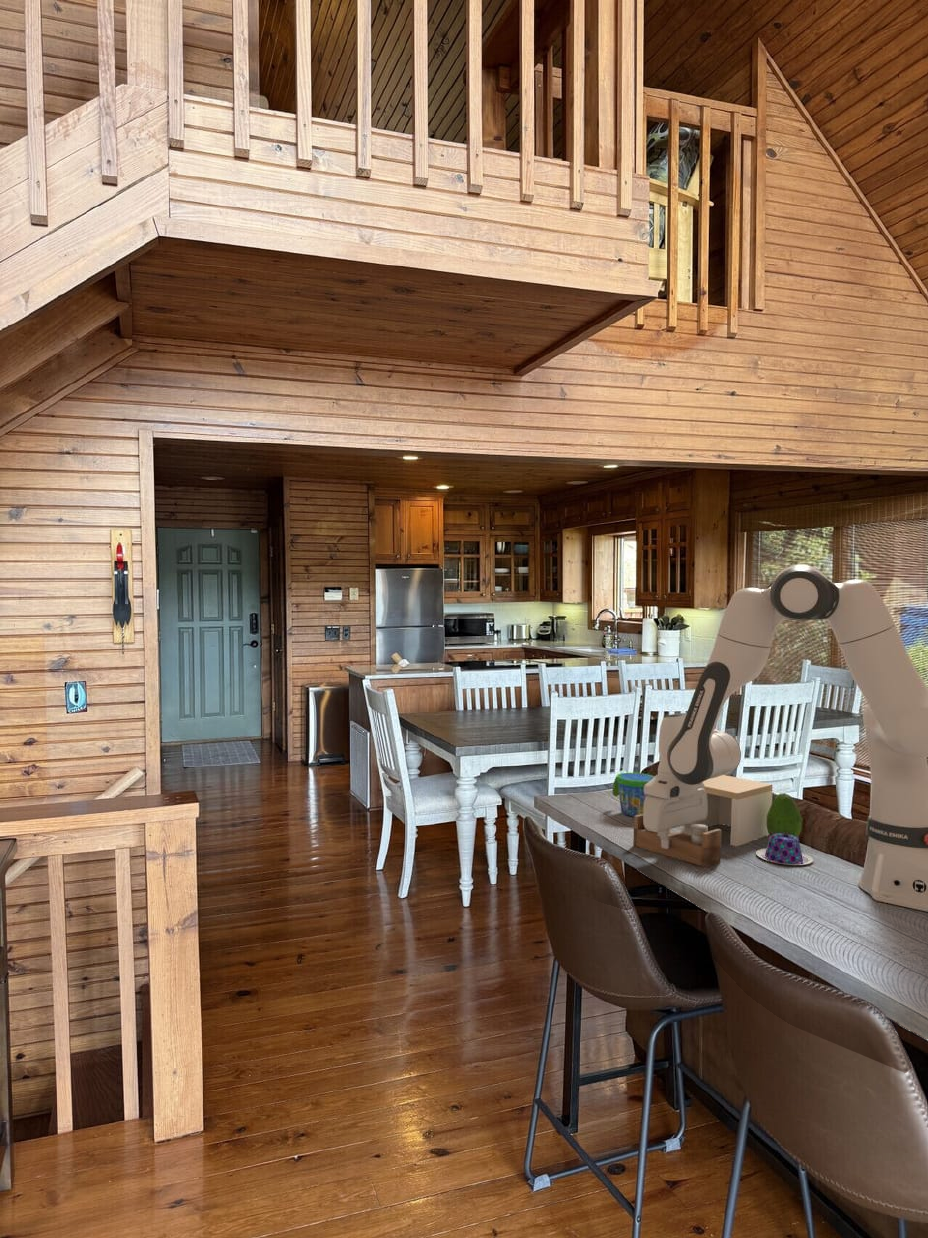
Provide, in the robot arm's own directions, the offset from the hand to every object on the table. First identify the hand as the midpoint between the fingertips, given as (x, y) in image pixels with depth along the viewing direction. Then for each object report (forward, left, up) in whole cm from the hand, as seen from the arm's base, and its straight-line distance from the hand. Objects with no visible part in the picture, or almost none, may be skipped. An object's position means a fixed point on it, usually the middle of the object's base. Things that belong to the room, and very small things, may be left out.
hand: (676, 845), depth 188 cm
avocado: (-11, -28, -2) cm, 30 cm away
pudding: (-17, -17, -2) cm, 24 cm away
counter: (+2, -24, -2) cm, 24 cm away
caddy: (0, 0, -2) cm, 2 cm away
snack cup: (+27, -21, -2) cm, 34 cm away
